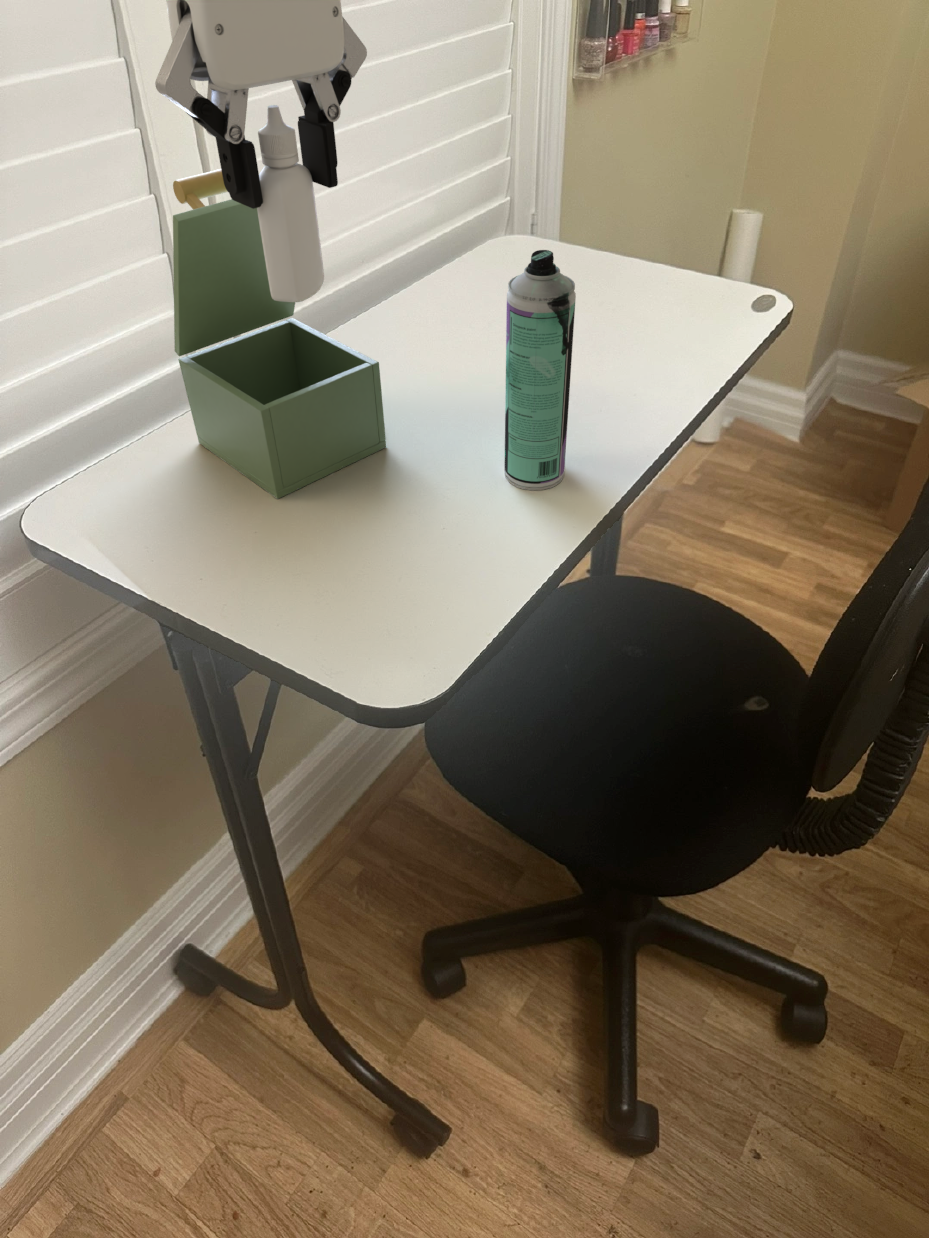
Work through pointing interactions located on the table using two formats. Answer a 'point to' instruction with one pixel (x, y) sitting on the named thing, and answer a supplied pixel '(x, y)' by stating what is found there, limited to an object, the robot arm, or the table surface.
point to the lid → (218, 268)
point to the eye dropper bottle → (288, 215)
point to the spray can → (538, 373)
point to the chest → (285, 404)
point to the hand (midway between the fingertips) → (284, 190)
